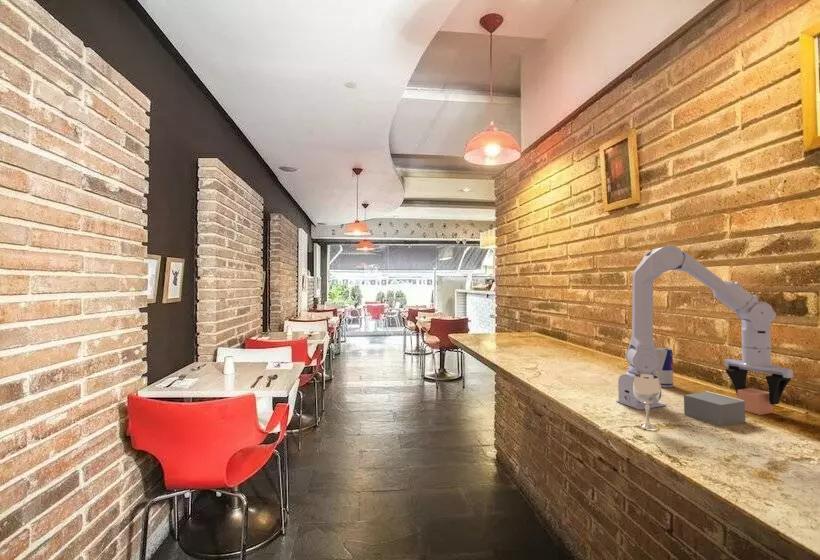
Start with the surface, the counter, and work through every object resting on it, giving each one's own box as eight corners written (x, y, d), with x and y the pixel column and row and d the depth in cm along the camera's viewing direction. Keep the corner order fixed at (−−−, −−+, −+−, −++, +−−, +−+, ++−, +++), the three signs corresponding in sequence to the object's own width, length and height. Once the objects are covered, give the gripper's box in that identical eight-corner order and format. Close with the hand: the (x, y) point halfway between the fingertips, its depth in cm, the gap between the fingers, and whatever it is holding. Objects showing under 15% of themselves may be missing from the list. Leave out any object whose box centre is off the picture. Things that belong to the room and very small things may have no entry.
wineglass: (652, 434, 89) (651, 380, 90) (628, 426, 95) (627, 375, 95) (667, 429, 92) (666, 377, 92) (643, 421, 97) (642, 372, 97)
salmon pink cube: (759, 414, 100) (758, 394, 100) (737, 409, 105) (737, 389, 105) (772, 412, 101) (772, 392, 101) (750, 406, 106) (750, 387, 106)
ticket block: (721, 426, 93) (720, 404, 93) (684, 414, 102) (683, 394, 102) (745, 422, 95) (744, 400, 95) (707, 410, 104) (706, 390, 104)
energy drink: (677, 387, 126) (676, 349, 126) (660, 387, 126) (659, 350, 127) (666, 383, 132) (665, 347, 132) (650, 383, 132) (649, 347, 132)
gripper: (800, 350, 98) (801, 406, 98) (736, 342, 112) (737, 391, 112) (781, 352, 96) (782, 409, 96) (718, 343, 109) (719, 393, 109)
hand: (757, 399), depth 103 cm, fingers open, 7 cm apart
